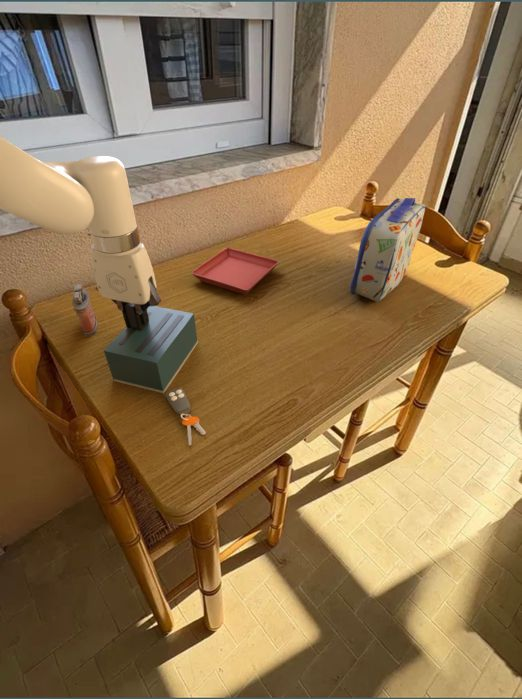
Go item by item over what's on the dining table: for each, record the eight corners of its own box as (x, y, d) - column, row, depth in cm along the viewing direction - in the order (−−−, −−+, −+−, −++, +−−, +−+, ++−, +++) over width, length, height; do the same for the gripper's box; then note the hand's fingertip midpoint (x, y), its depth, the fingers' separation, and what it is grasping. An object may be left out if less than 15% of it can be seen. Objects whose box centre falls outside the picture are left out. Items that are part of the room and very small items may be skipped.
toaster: (113, 381, 76) (102, 350, 70) (153, 333, 87) (146, 303, 82) (163, 393, 73) (156, 362, 68) (198, 342, 85) (194, 312, 80)
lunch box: (377, 259, 116) (394, 184, 102) (411, 268, 112) (434, 191, 98) (343, 301, 98) (358, 217, 84) (382, 313, 94) (405, 228, 80)
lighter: (83, 317, 92) (69, 281, 85) (97, 315, 92) (86, 278, 86) (81, 337, 86) (67, 300, 79) (97, 334, 87) (84, 297, 80)
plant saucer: (191, 282, 104) (189, 271, 102) (227, 256, 116) (226, 246, 114) (247, 301, 98) (247, 290, 96) (279, 271, 110) (280, 260, 108)
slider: (130, 327, 76) (124, 305, 72) (137, 319, 77) (131, 298, 74) (138, 329, 75) (133, 307, 72) (145, 321, 77) (140, 300, 74)
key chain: (163, 397, 73) (162, 391, 72) (182, 390, 74) (181, 384, 73) (189, 447, 64) (188, 441, 63) (209, 438, 66) (209, 432, 65)
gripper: (61, 241, 63) (92, 328, 75) (147, 255, 60) (164, 344, 72) (89, 224, 69) (114, 308, 81) (169, 235, 65) (182, 321, 77)
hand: (137, 324), depth 76 cm, fingers closed on slider, 2 cm apart
